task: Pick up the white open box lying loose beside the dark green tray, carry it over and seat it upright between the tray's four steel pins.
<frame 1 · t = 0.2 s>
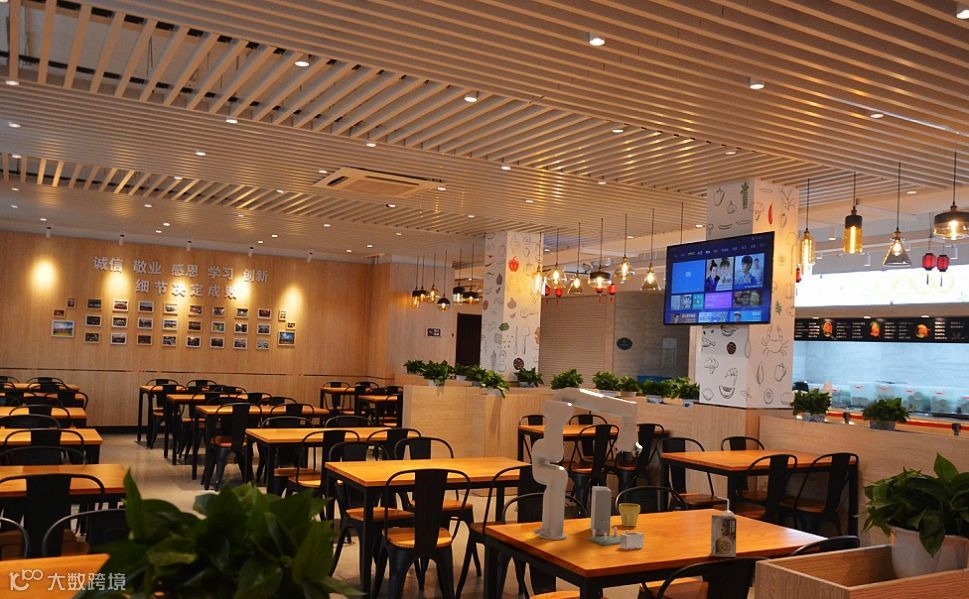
hand: (627, 463, 407), 31 cm above the table, tool pointing down, fingers open, 9 cm apart
hard drive box: (599, 532, 396), on the table
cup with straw: (726, 541, 390), on the table
white open box: (631, 548, 366), on the table
plant pot: (628, 525, 415), on the table
coffee box: (722, 555, 361), on the table
pin tray: (610, 541, 376), on the table
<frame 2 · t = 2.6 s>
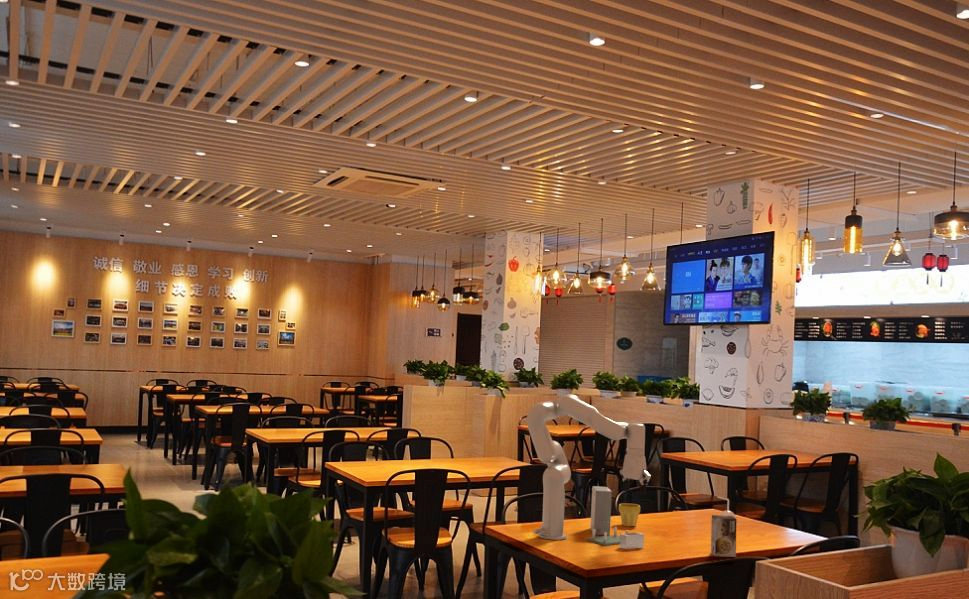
hand: (634, 492, 367), 24 cm above the table, tool pointing down, fingers open, 9 cm apart
nothing on the table moved.
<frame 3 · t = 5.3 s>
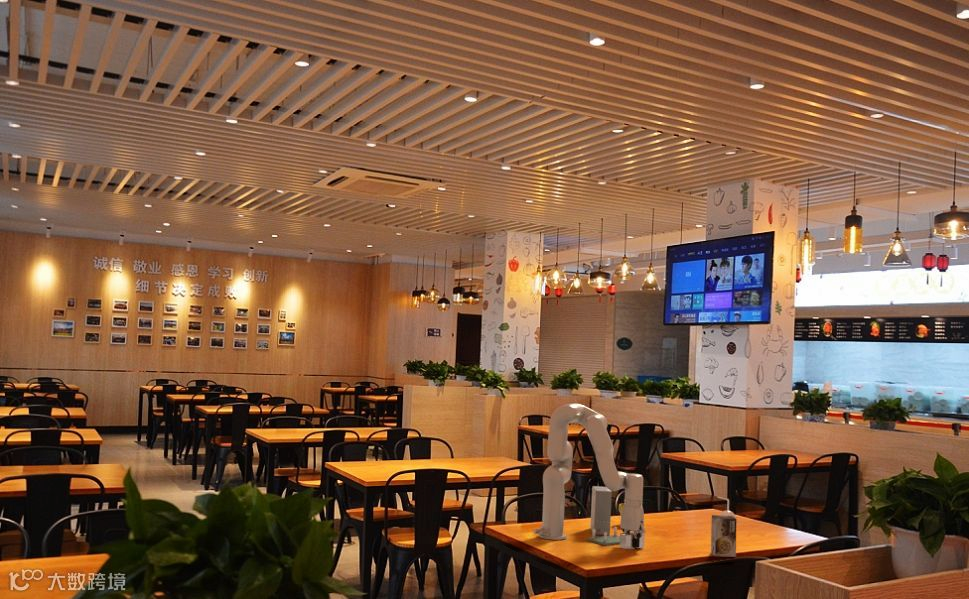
hand: (631, 545, 366), 1 cm above the table, tool pointing down, fingers closed on white open box, 4 cm apart
white open box: (631, 547, 366), on the table, touching gripper
everything else where it was.
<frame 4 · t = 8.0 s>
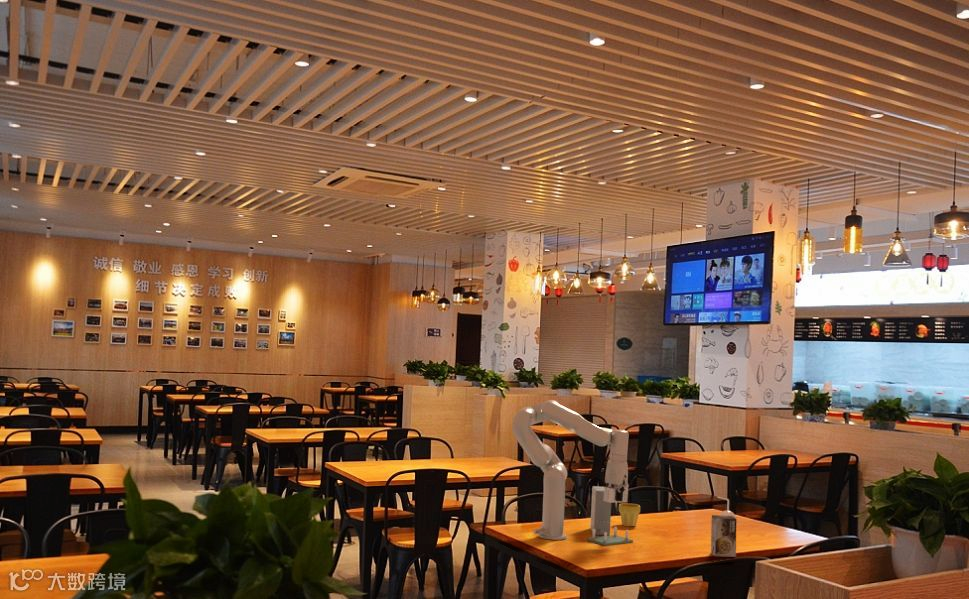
hand: (615, 499, 375), 19 cm above the table, tool pointing down, fingers closed on white open box, 4 cm apart
white open box: (615, 501, 375), point 18 cm above the table, touching gripper
everything else where it was.
when the fingers open (3 cm above the table, at t = 11.2 s): white open box drops 1 cm, resting on pin tray.
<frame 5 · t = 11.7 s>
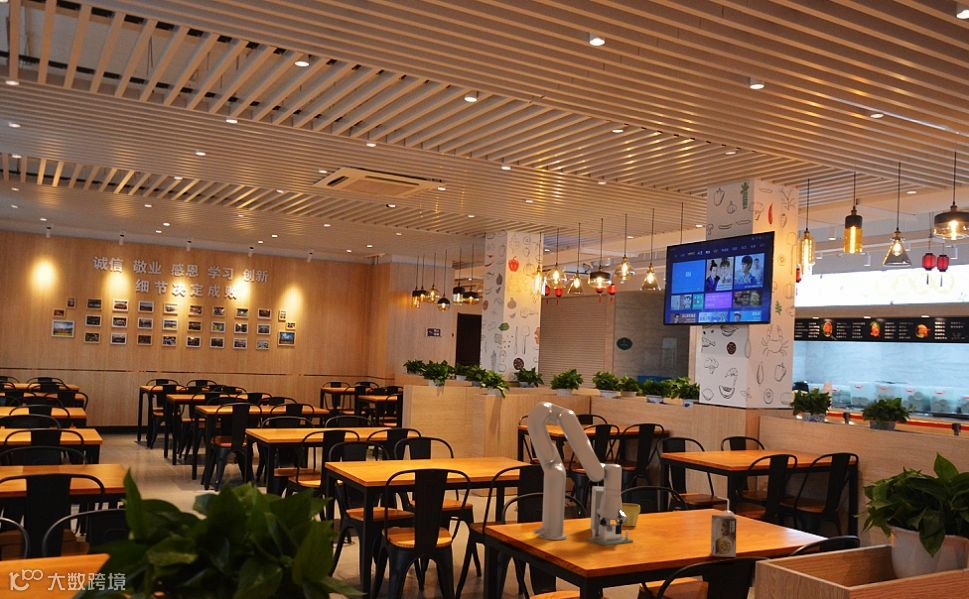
hand: (610, 531, 377), 4 cm above the table, tool pointing down, fingers open, 9 cm apart
white open box: (609, 539, 377), point 1 cm above the table, touching pin tray
everything else where it was.
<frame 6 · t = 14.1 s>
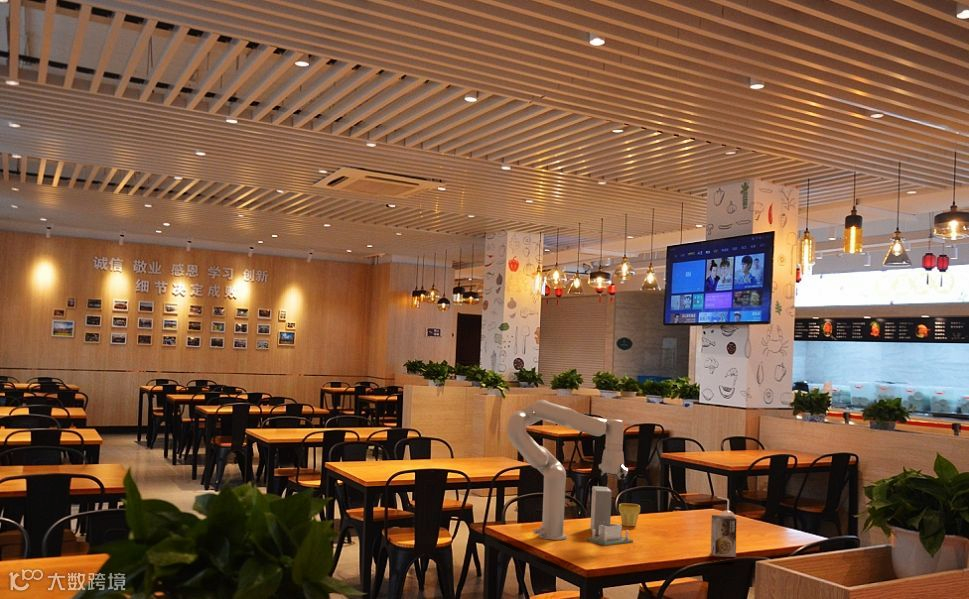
hand: (612, 486, 378), 24 cm above the table, tool pointing down, fingers open, 9 cm apart
nothing on the table moved.
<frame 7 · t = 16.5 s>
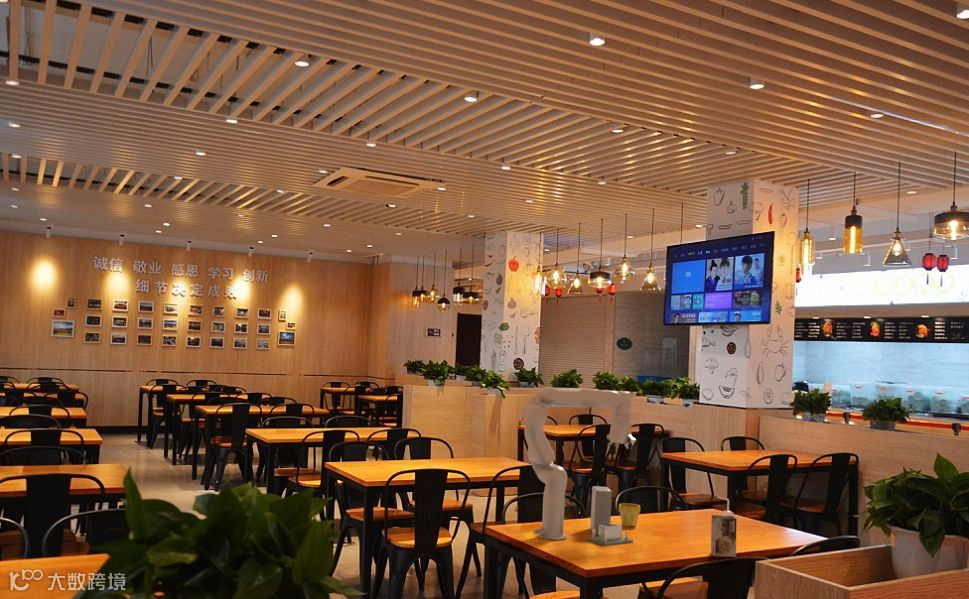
hand: (620, 455, 391), 36 cm above the table, tool pointing down, fingers open, 9 cm apart
nothing on the table moved.
at the end: white open box 0.2 cm off-centre on the pin tray, point 1.0 cm above the pin tray's base; white open box tilted 0°; the gripper is holding nothing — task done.
